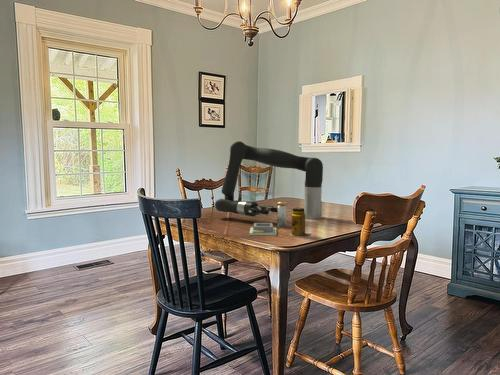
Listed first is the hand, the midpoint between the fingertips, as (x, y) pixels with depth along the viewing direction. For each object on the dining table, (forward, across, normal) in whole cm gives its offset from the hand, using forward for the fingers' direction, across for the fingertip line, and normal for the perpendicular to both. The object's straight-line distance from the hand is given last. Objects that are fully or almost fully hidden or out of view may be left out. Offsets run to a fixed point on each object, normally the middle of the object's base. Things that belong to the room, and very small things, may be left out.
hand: (273, 211), depth 190 cm
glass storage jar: (+5, 0, +7) cm, 9 cm away
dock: (+6, -17, +7) cm, 19 cm away
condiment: (+21, -10, +7) cm, 24 cm away
